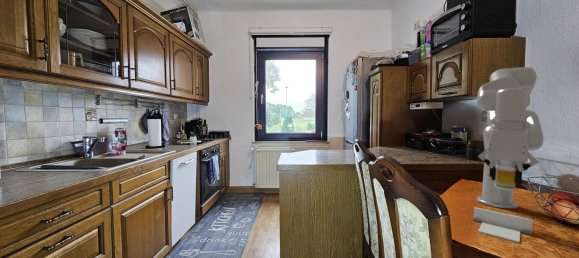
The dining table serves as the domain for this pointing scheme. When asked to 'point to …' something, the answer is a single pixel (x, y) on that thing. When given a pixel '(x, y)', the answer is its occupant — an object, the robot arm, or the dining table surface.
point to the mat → (500, 232)
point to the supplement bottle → (505, 175)
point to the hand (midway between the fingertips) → (504, 180)
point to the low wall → (503, 220)
